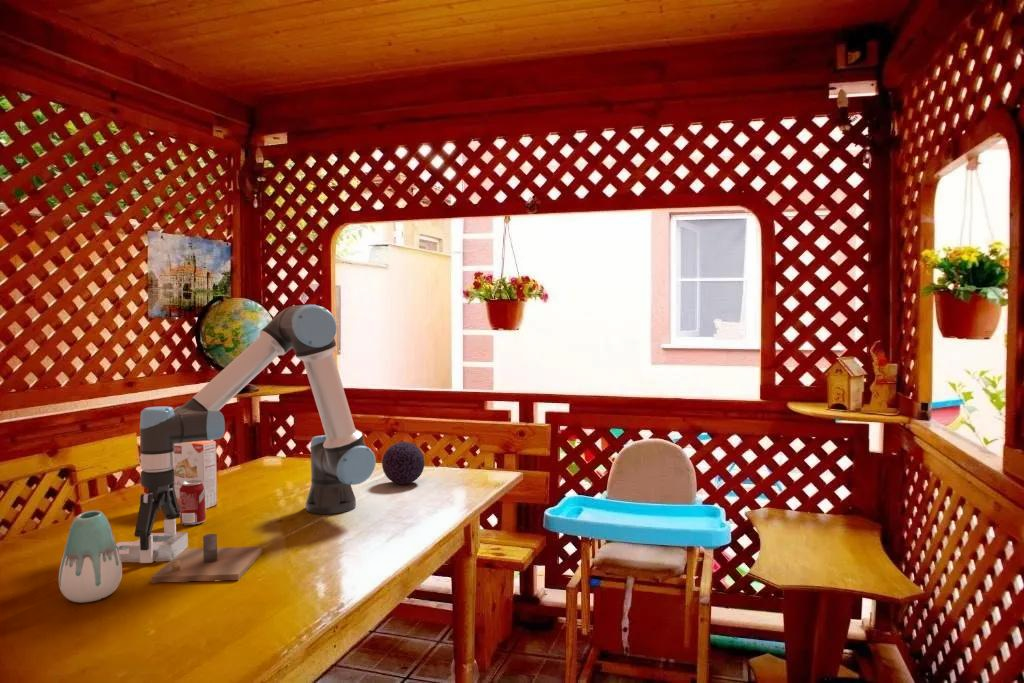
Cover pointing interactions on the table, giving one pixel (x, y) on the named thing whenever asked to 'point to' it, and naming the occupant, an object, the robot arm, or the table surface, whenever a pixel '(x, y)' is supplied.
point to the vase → (90, 559)
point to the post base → (208, 563)
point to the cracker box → (196, 467)
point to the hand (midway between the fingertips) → (158, 553)
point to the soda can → (192, 502)
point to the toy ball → (403, 463)
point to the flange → (155, 547)
